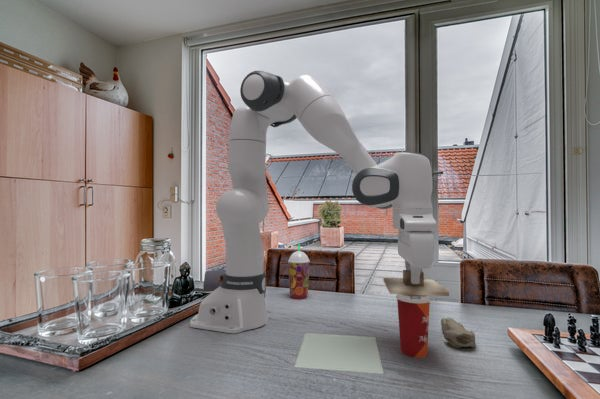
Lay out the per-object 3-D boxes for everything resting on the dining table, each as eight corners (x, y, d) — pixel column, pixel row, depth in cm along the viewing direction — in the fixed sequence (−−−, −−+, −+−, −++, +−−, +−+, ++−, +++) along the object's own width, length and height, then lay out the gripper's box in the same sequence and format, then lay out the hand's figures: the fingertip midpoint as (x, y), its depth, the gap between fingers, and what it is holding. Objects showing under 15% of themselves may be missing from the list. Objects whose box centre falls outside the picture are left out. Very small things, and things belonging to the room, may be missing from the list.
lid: (390, 293, 67) (390, 275, 67) (383, 281, 79) (383, 265, 79) (449, 296, 65) (448, 277, 66) (433, 282, 77) (433, 267, 77)
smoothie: (297, 292, 124) (297, 242, 125) (314, 296, 119) (314, 243, 119) (283, 297, 118) (283, 244, 118) (300, 301, 112) (300, 245, 113)
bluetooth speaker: (266, 292, 125) (266, 267, 125) (265, 298, 116) (265, 271, 116) (208, 293, 124) (208, 267, 124) (202, 300, 114) (203, 272, 115)
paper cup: (435, 363, 67) (434, 298, 68) (398, 360, 69) (397, 296, 69) (428, 347, 75) (427, 289, 75) (394, 345, 76) (394, 287, 77)
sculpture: (431, 331, 88) (449, 350, 73) (432, 313, 88) (450, 329, 73) (459, 334, 87) (482, 354, 72) (459, 316, 87) (482, 333, 72)
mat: (294, 369, 65) (294, 367, 65) (305, 334, 82) (305, 332, 83) (383, 376, 62) (383, 373, 62) (375, 339, 80) (375, 337, 80)
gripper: (391, 219, 83) (392, 271, 83) (406, 223, 63) (406, 291, 63) (416, 219, 83) (416, 272, 82) (439, 223, 62) (440, 293, 62)
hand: (412, 281), depth 72 cm, fingers closed on lid, 3 cm apart
